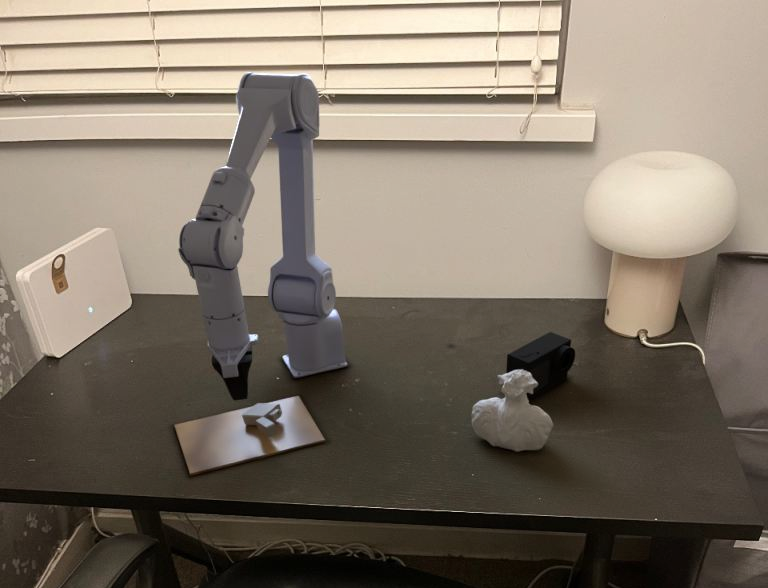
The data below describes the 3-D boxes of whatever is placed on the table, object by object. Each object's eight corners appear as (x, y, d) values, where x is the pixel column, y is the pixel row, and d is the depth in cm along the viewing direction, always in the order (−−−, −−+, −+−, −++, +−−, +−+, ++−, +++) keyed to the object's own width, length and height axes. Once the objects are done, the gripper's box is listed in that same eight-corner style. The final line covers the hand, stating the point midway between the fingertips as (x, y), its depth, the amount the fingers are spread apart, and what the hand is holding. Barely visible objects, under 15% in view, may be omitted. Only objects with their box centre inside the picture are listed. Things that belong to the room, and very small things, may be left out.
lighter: (258, 402, 119) (297, 404, 114) (261, 412, 120) (301, 414, 115) (229, 425, 114) (269, 427, 110) (233, 435, 115) (273, 438, 111)
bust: (550, 460, 110) (571, 383, 109) (539, 456, 103) (561, 374, 102) (473, 441, 115) (492, 368, 114) (457, 436, 108) (478, 357, 107)
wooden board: (298, 397, 123) (298, 395, 123) (325, 441, 113) (324, 439, 113) (174, 426, 118) (174, 424, 118) (190, 475, 108) (189, 473, 108)
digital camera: (531, 406, 118) (534, 365, 113) (504, 393, 121) (506, 353, 117) (573, 381, 123) (578, 341, 119) (546, 370, 126) (550, 330, 122)
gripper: (253, 330, 99) (268, 420, 107) (252, 286, 110) (266, 370, 118) (198, 336, 98) (218, 426, 107) (203, 291, 109) (220, 375, 118)
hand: (240, 397), depth 113 cm, fingers closed
